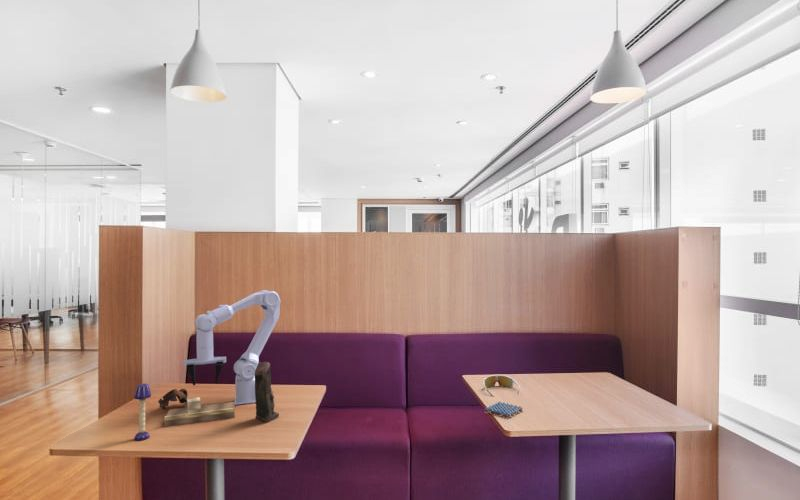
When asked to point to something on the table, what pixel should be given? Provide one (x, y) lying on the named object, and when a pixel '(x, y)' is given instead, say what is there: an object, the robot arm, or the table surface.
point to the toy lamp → (142, 410)
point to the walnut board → (200, 414)
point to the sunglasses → (499, 381)
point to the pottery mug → (174, 397)
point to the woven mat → (503, 410)
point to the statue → (264, 393)
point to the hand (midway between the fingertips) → (205, 383)
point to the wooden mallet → (193, 405)
